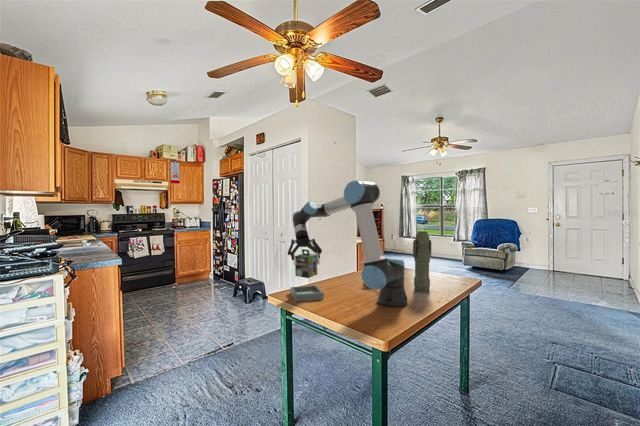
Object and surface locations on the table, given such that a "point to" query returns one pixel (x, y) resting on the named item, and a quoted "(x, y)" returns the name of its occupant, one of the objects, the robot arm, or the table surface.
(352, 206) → the robot arm
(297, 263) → the chalk box
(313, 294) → the tray
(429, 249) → the green stone statue
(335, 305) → the table surface
